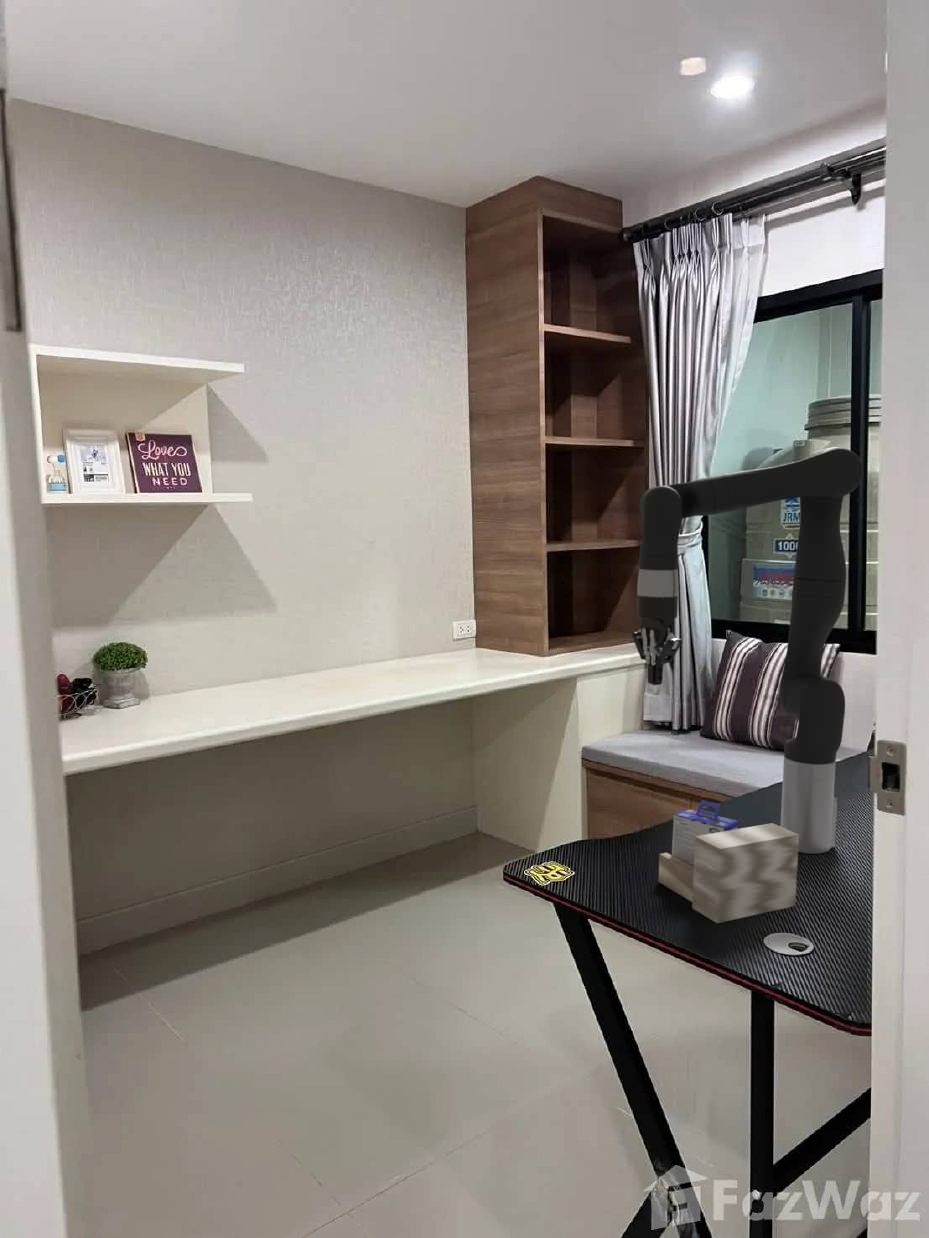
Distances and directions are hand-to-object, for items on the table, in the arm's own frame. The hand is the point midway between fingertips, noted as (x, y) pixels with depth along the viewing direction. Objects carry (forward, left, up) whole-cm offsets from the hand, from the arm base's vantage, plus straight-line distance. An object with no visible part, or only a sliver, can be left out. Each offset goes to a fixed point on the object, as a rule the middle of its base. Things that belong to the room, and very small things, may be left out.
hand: (654, 684), depth 176 cm
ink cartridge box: (+5, +22, -31) cm, 38 cm away
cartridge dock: (+4, +26, -31) cm, 40 cm away
